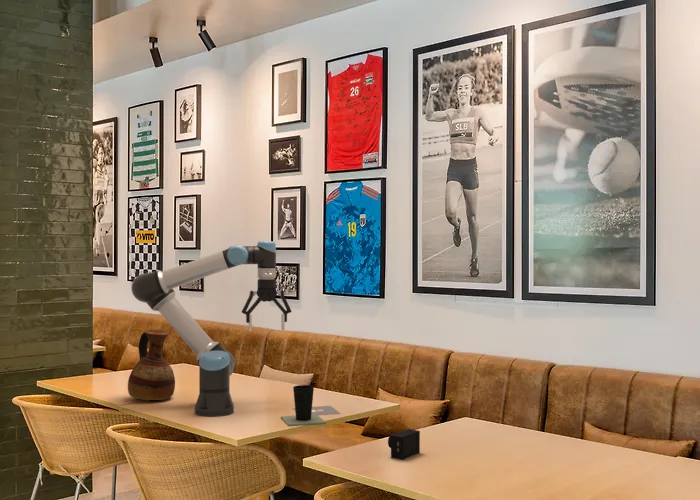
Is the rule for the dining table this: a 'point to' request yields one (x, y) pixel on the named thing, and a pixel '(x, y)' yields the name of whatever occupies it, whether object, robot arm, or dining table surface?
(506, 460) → the dining table surface
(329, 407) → the tile
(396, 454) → the digital camera
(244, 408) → the dining table surface
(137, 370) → the ceramic pitcher
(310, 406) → the cup
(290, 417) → the mat
